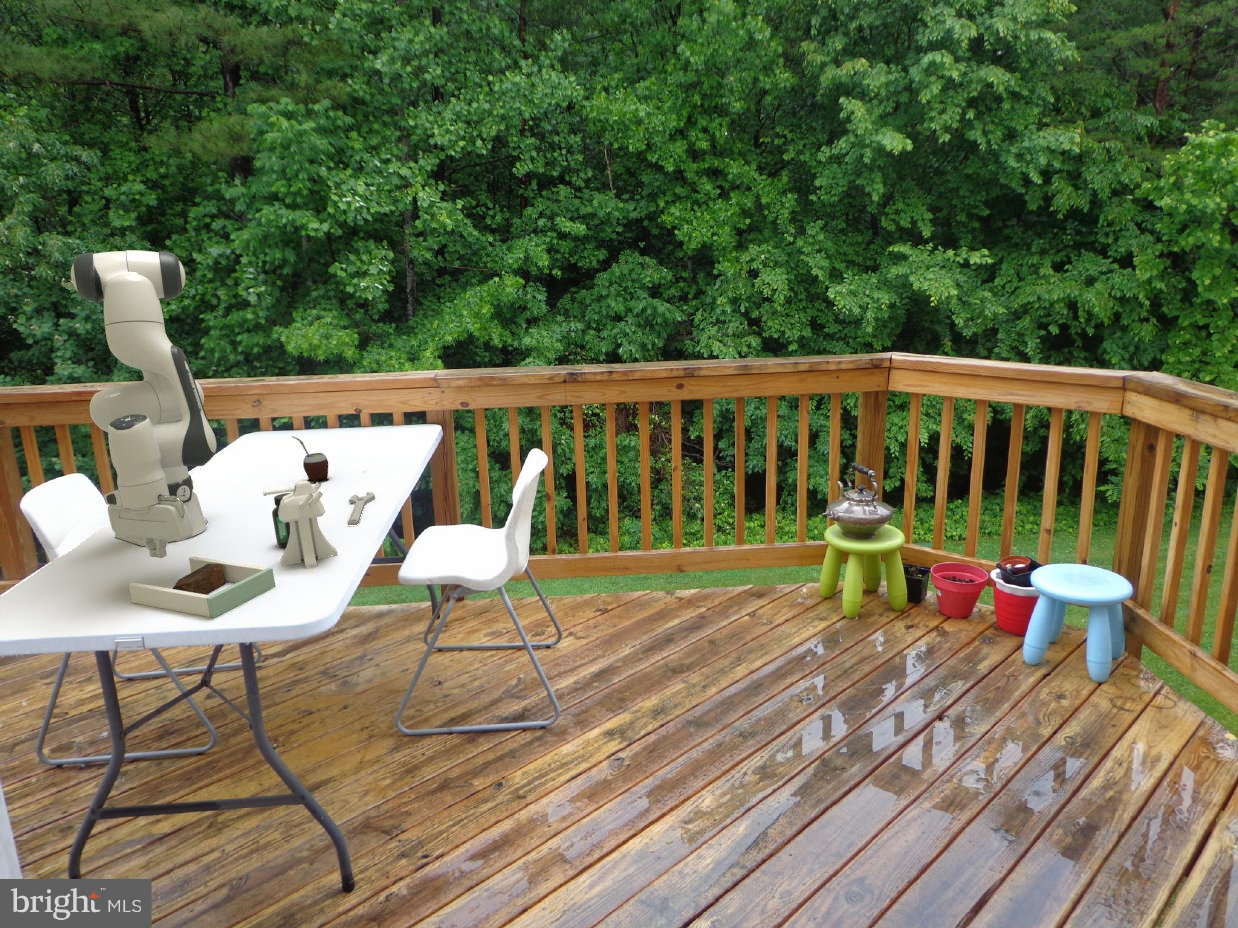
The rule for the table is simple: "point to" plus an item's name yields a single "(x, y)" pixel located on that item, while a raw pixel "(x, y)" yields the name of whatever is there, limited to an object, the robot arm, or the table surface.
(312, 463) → the mate gourd
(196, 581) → the brick
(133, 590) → the bay
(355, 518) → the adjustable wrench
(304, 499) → the toy gun turret
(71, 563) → the table surface
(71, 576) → the table surface
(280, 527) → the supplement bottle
